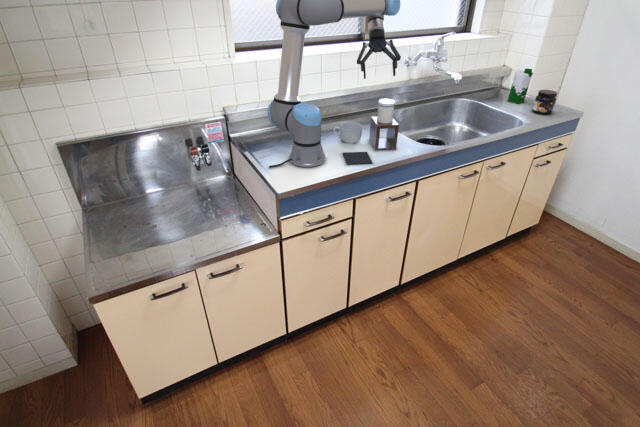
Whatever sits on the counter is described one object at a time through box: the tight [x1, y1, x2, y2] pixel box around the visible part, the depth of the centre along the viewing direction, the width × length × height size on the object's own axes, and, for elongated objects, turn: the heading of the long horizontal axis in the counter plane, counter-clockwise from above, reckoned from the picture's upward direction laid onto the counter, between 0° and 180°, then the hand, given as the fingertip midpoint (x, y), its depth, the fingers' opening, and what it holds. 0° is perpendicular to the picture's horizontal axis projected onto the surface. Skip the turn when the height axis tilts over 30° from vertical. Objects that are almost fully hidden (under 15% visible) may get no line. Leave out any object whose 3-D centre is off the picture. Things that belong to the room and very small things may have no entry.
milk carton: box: [507, 68, 534, 105], centre depth 236 cm, size 9×9×20 cm
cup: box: [376, 98, 396, 123], centre depth 174 cm, size 7×7×9 cm
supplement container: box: [531, 89, 558, 116], centre depth 221 cm, size 10×10×12 cm
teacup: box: [332, 121, 363, 145], centre depth 184 cm, size 14×11×8 cm
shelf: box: [368, 115, 400, 152], centre depth 180 cm, size 10×12×12 cm
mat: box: [342, 151, 373, 166], centre depth 170 cm, size 11×11×1 cm
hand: (379, 76), depth 178 cm, fingers open, 13 cm apart
